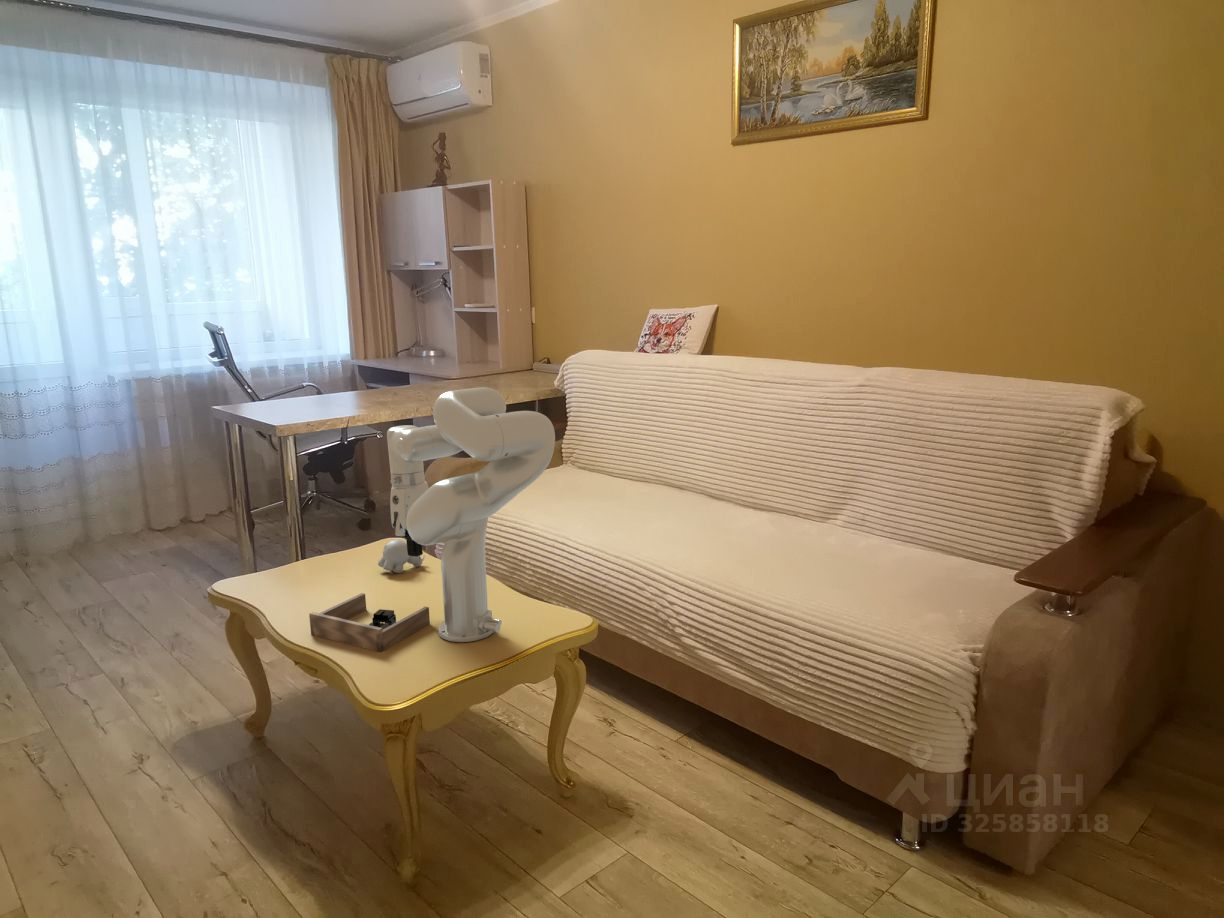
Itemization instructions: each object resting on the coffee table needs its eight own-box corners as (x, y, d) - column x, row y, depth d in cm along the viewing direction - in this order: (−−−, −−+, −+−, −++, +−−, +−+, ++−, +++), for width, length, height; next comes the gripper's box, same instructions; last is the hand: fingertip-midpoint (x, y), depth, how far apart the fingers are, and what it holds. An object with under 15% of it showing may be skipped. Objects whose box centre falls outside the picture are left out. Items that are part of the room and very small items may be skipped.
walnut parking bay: (429, 623, 183) (428, 603, 182) (380, 652, 169) (378, 629, 168) (363, 608, 191) (361, 589, 190) (311, 634, 177) (309, 613, 176)
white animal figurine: (424, 579, 218) (433, 549, 218) (382, 572, 211) (392, 541, 211) (414, 571, 224) (423, 542, 224) (373, 564, 216) (383, 534, 216)
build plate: (351, 636, 178) (349, 616, 177) (368, 622, 185) (366, 603, 184) (403, 640, 176) (401, 620, 175) (418, 626, 183) (416, 607, 182)
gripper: (398, 486, 178) (406, 566, 181) (441, 473, 191) (447, 547, 194) (372, 484, 182) (381, 562, 185) (416, 472, 195) (423, 545, 198)
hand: (415, 555), depth 190 cm, fingers closed
